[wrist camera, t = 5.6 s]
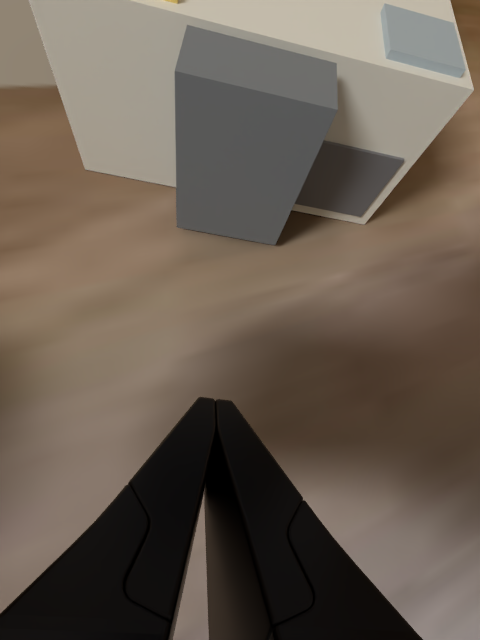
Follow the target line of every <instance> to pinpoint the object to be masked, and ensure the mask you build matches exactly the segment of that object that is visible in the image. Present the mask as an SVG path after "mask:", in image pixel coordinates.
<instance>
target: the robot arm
mask: <svg viewBox="0 0 480 640" xmlns="http://www.w3.org/2000/svg"><path fill="white" fill-rule="evenodd" d="M204 488H205V491H204ZM203 494H204V503H205V533H206V563H207V594H208V624H209V640H423V639H422V638H421V637H420V636H419V635H418V634H417V633H416V632H415V631H414V629H413V628H412V627H411V626H410V625H409V624H408V623H407V621H406V620H405V619H404V618H403V617H402V616H401V615H400V614H399V612H398V611H397V610H396V609H395V608H394V607H393V606H392V604H391V603H390V602H389V601H388V600H387V599H386V598H385V597H384V595H383V594H382V593H381V592H380V591H379V590H378V589H377V588H376V586H375V585H374V584H373V583H372V582H371V581H370V580H369V578H368V577H367V576H366V575H365V574H364V573H363V572H362V571H361V569H360V568H359V567H358V566H357V565H356V564H355V563H354V561H353V560H352V559H351V558H350V557H349V556H348V554H347V553H346V552H345V551H344V550H343V548H342V547H341V546H340V545H339V544H338V543H337V541H336V540H335V539H334V538H333V537H332V535H331V534H330V533H329V531H328V530H327V529H326V528H325V526H324V525H323V524H322V522H321V521H320V520H319V519H318V517H317V516H316V515H315V513H314V512H313V511H312V509H311V508H310V507H309V505H308V504H307V502H306V501H304V500H303V497H302V496H301V494H300V493H299V492H298V490H297V489H296V488H295V486H294V485H293V484H292V482H291V481H290V479H289V478H288V477H287V475H286V474H285V473H284V471H283V470H282V469H281V467H280V466H279V465H278V463H277V462H276V460H275V459H274V458H273V456H272V455H271V454H270V452H269V451H268V450H267V448H266V447H265V445H264V444H263V443H262V441H261V440H260V439H259V437H258V436H257V435H256V433H255V432H254V430H253V429H252V428H251V426H250V425H249V424H248V422H247V421H246V420H245V418H244V417H243V415H242V414H241V413H240V411H239V410H238V409H237V407H236V406H235V405H234V403H233V402H232V401H229V400H220V399H217V400H216V401H215V400H214V399H212V398H204V397H199V398H198V399H197V400H196V401H195V402H194V404H193V405H192V406H191V407H190V409H189V410H188V411H187V412H186V413H185V415H184V416H183V417H182V418H181V419H180V421H179V422H178V423H177V424H176V426H175V427H174V428H173V429H172V430H171V432H170V433H169V434H168V435H167V436H166V438H165V439H164V440H163V441H162V442H161V444H160V445H159V446H158V447H157V449H156V450H155V451H154V452H153V453H152V455H151V456H150V457H149V458H148V459H147V461H146V462H145V463H144V464H143V466H142V467H141V468H140V469H139V470H138V472H137V473H136V474H135V475H134V476H133V478H132V479H131V480H130V481H129V483H128V485H126V486H125V487H124V488H123V490H122V491H121V492H120V493H119V494H118V496H117V497H116V498H115V499H114V500H113V502H112V503H111V504H110V505H109V506H108V507H107V508H106V509H105V511H104V512H103V513H102V514H101V515H100V516H99V517H98V519H97V520H96V521H95V522H94V523H93V524H92V525H91V526H90V527H89V528H88V529H87V530H86V531H85V532H84V533H83V534H82V535H81V536H80V537H79V538H78V539H77V540H76V541H75V542H74V543H73V544H72V545H71V546H70V547H69V548H68V549H67V550H66V551H65V552H64V553H63V554H62V555H61V556H60V557H59V558H58V559H56V560H55V561H54V562H53V563H52V564H51V565H50V566H49V567H48V568H47V569H46V570H45V571H44V572H43V573H42V574H41V575H40V576H39V577H38V578H37V579H36V580H35V581H34V582H33V583H32V584H31V585H29V586H28V587H27V588H26V589H25V590H24V591H23V592H22V593H21V594H20V595H19V596H18V597H17V598H16V599H15V600H14V601H13V602H12V603H11V604H10V605H9V606H8V607H7V608H6V609H5V610H4V611H3V612H1V613H0V640H173V635H174V631H175V626H176V621H177V617H178V612H179V607H180V602H181V598H182V593H183V588H184V584H185V579H186V574H187V569H188V565H189V560H190V555H191V551H192V546H193V541H194V536H195V532H196V527H197V522H198V518H199V513H200V508H201V504H202V499H203Z"/></svg>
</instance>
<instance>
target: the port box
mask: <svg viewBox="0 0 480 640" xmlns="http://www.w3.org/2000/svg"><path fill="white" fill-rule="evenodd" d="M29 3H30V6H31V9H32V12H33V15H34V18H35V21H36V24H37V27H38V30H39V33H40V36H41V39H42V42H43V45H44V48H45V51H46V54H47V57H48V60H49V63H50V66H51V69H52V72H53V75H54V78H55V80H56V84H57V87H58V90H59V93H60V96H61V99H62V102H63V105H64V108H65V111H66V114H67V116H68V119H69V122H70V125H71V128H72V131H73V134H74V137H75V140H76V143H77V146H78V149H79V152H80V155H81V158H82V161H83V164H84V167H85V169H86V170H91V171H96V172H101V173H106V174H111V175H116V176H121V177H126V178H131V179H136V180H141V181H146V182H151V183H156V184H161V185H167V186H172V187H176V138H175V67H176V64H177V60H178V56H179V53H180V49H181V45H182V42H183V38H184V34H185V30H186V27H187V25H190V26H194V27H198V28H202V29H206V30H209V31H213V32H217V33H221V34H225V35H229V36H233V37H237V38H241V39H245V40H248V41H252V42H256V43H260V44H264V45H268V46H272V47H276V48H280V49H284V50H287V51H291V52H295V53H299V54H303V55H307V56H311V57H315V58H319V59H323V60H326V61H330V62H334V63H337V96H338V111H337V113H336V115H335V117H334V119H333V121H332V124H331V126H330V128H329V130H328V132H327V134H326V137H325V139H324V141H323V143H322V145H321V147H320V150H319V152H318V154H317V156H316V158H315V160H314V162H313V165H312V167H311V169H310V171H309V173H308V175H307V178H306V180H305V182H304V184H303V186H302V188H301V191H300V193H299V195H298V197H297V199H296V201H295V204H294V206H293V208H292V210H293V211H298V212H303V213H308V214H313V215H318V216H323V217H328V218H333V219H339V220H344V221H349V222H354V223H359V224H365V223H366V222H367V221H368V220H369V218H370V217H371V216H372V215H373V213H374V212H375V211H376V210H377V209H378V207H379V206H380V205H381V204H382V202H383V201H384V200H385V199H386V197H387V196H388V195H389V194H390V193H391V191H392V190H393V189H394V188H395V186H396V185H397V184H398V183H399V181H400V180H401V179H402V178H403V177H404V175H405V174H406V173H407V172H408V170H409V169H410V168H411V167H412V165H413V164H414V163H415V162H416V161H417V159H418V158H419V157H420V156H421V154H422V153H423V152H424V151H425V150H426V148H427V147H428V146H429V145H430V143H431V142H432V141H433V140H434V138H435V137H436V136H437V135H438V134H439V132H440V131H441V130H442V129H443V127H444V126H445V125H446V124H447V122H448V121H449V120H450V119H451V118H452V116H453V115H454V114H455V113H456V111H457V110H458V109H459V108H460V106H461V105H462V104H463V103H464V102H465V100H466V99H467V98H468V97H469V95H470V94H471V93H472V92H473V91H474V88H473V84H472V81H471V77H470V73H469V69H468V66H467V62H466V58H465V54H464V51H463V47H462V43H461V40H460V36H459V32H458V28H457V25H456V21H455V17H454V13H453V10H452V6H451V2H450V0H29Z"/></svg>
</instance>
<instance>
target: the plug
mask: <svg viewBox="0 0 480 640" xmlns="http://www.w3.org/2000/svg"><path fill="white" fill-rule="evenodd" d="M337 111H338V96H337V63H334V62H330V61H326V60H323V59H319V58H315V57H311V56H307V55H303V54H299V53H295V52H291V51H287V50H284V49H280V48H276V47H272V46H268V45H264V44H260V43H256V42H252V41H248V40H245V39H241V38H237V37H233V36H229V35H225V34H221V33H217V32H213V31H209V30H206V29H202V28H198V27H194V26H190V25H187V27H186V30H185V34H184V38H183V42H182V45H181V49H180V53H179V56H178V60H177V64H176V67H175V138H176V210H177V227H178V228H184V229H189V230H195V231H200V232H205V233H211V234H216V235H222V236H227V237H233V238H238V239H244V240H249V241H254V242H260V243H265V244H271V245H276V242H277V240H278V238H279V236H280V234H281V232H282V230H283V227H284V225H285V223H286V221H287V219H288V217H289V214H290V212H291V210H292V208H293V206H294V204H295V201H296V199H297V197H298V195H299V193H300V191H301V188H302V186H303V184H304V182H305V180H306V178H307V175H308V173H309V171H310V169H311V167H312V165H313V162H314V160H315V158H316V156H317V154H318V152H319V150H320V147H321V145H322V143H323V141H324V139H325V137H326V134H327V132H328V130H329V128H330V126H331V124H332V121H333V119H334V117H335V115H336V113H337Z"/></svg>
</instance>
